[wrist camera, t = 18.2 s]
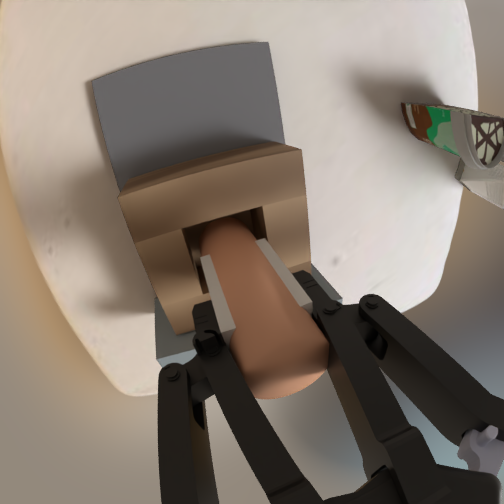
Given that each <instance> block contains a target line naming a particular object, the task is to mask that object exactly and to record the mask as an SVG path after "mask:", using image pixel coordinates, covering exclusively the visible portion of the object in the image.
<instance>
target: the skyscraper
mask: <svg viewBox="0 0 504 504" xmlns="http://www.w3.org/2000/svg"><path fill="white" fill-rule="evenodd" d="M500 161H502V162H504V154H503V156H502V158H501V160H500ZM455 178H456V179H457V180H458V181H459V182H461V183H462V184H463V185H464V186H465V187H466V188H467V189H468V190H469V191H471V192H473V193H475V194H477V195H478V196H480V197H482V198H484V199H486V200H487V201H489V202H491V203H493V204H494V205H497V206H498V207H500V208H502V209H504V166H502V165H500V164H498V165H497V166H495V167H494V168H492V169H486V170H482V169H474V168H471V167H469V166H467V165H466V164H465V163H464V161H463V160H462V158H461V159H460V162H459V165H458V169H457V172H456V175H455Z"/></svg>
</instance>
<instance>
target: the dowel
mask: <svg viewBox="0 0 504 504" xmlns="http://www.w3.org/2000/svg"><path fill="white" fill-rule="evenodd" d="M255 241H257V240H256V238H255V237H254V235H253V234H252V233H251V231H250V230H249V228H248V227H247V226H246V225H245V224H244V223H243V222H242V221H240V220H238V219H235V218H230V217H226V218H220V219H217V220H215V221H213V222H211V223H210V224H208V225H207V226H206V227H205V228H204V230H203V231H202V233H201V235H200V238H199V250H200V254H201V257H203V256H206V255H209V254H210V257H211V260H212V262H213V265H214V268H215V271H216V274H217V277H218V280H219V282H220V285H221V288H222V291H223V294H224V296H225V299H226V302H227V305H228V307H229V310H230V313H231V316H232V318H233V321H234V324H235V326H236V329H235V330H234V332H233V334H232V336H231V339H230V344H229V347H230V352H231V355H232V358H233V360H234V361H235V363H236V365H237V367H238V369H239V371H240V372H241V374H242V376H243V378H244V380H245V381H246V383H247V385H248V387H249V388H250V390H251V392H252V394H253V395H254V397H255V398H258V399H275V398H280V397H284V396H288V395H290V394H293V393H295V392H298V391H300V390H302V389H303V388H305V387H307V386H308V385H310V384H311V383H313V382H314V381H315V380H317V379H318V378H319V377H320V376H321V375H322V374H323V373H324V372H325V370H326V369H327V368H328V357H329V342H328V340H327V339H326V337H325V336H324V334H323V333H322V331H321V330H320V328H319V327H318V326H317V324H316V323H315V321H314V320H313V318H312V317H311V316H310V314H309V313H308V312H307V311H306V310H305V309H304V308H302V307H300V306H299V304H298V303H297V301H296V300H295V299H294V297H293V296H292V294H291V293H290V291H289V290H288V288H287V287H286V285H285V284H284V283H283V281H282V280H281V278H280V277H279V275H278V274H277V272H276V271H275V269H274V268H273V267H272V265H271V264H270V262H269V261H268V259H267V258H266V257H265V255H264V254H263V252H262V251H261V249H260V248H259V246H258V245H257V244H256V242H255Z"/></svg>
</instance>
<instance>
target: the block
mask: <svg viewBox="0 0 504 504" xmlns="http://www.w3.org/2000/svg"><path fill="white" fill-rule="evenodd" d="M118 200H119V203H120V206H121V209H122V212H123V215H124V217H125V220H126V223H127V225H128V228H129V231H130V233H131V236H132V239H133V241H134V244H135V246H136V249H137V251H138V254H139V256H140V258H141V261H142V263H143V265H144V268H145V270H146V272H147V275H148V277H149V279H150V282H151V284H152V286H153V288H154V290H155V293H156V295H157V297H158V299H159V301H160V303H161V305H162V307H163V310H164V312H165V314H166V316H167V318H168V320H169V322H170V324H171V326H172V328H173V330H174V332H175V333H176V335H179V334H182V333H186V332H189V331H193V330H195V326H194V321H193V316H192V310H193V307H194V305H195V304H198V303H202V302H205V301H208V300H211V297H210V293H209V289H208V286H207V282H206V278H205V274H204V271H203V267H202V263H201V259H200V257H201V254H200V250H199V238H200V235H201V233H202V231H203V230H204V228H205V227H206V226H207V225H208V224H210V223H211V222H213V221H215V220H217V219H220V218H226V217H230V218H235V219H238V220H240V221H242V222H243V223H244V224H245V225H246V226H247V227H248V228H249V230H250V231H251V233H252V234H253V235H254V237H255V238H256V240H260V239H264V238H265V239H266V241H267V242H268V243H269V244H270V246H271V247H272V248H273V250H274V251H275V252H276V254H277V255H278V256H279V258H280V259H281V260H282V262H283V263H284V264H285V266H286V267H287V268H288V270H289V271H290V272H291V274H292V273H295V272H298V271H301V270H304V271H306V272H308V273H310V274H311V275H312V272H311V253H310V236H309V222H308V209H307V198H306V187H305V177H304V167H303V158H302V150H301V149H298V148H295V147H292V146H288V145H285V144H282V143H278V142H275V141H273V142H268V143H263V144H257V145H252V146H248V147H243V148H238V149H234V150H229V151H225V152H221V153H217V154H213V155H209V156H205V157H201V158H197V159H193V160H189V161H186V162H182V163H179V164H175V165H172V166H168V167H165V168H162V169H158V170H155V171H152V172H149V173H146V174H143V175H140V176H137V177H134V178H131V179H128V181H127V182H126V184H125V186H124V187H123V189H122V191H121V193H120V194H119V196H118Z"/></svg>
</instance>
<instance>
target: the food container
mask: <svg viewBox="0 0 504 504" xmlns="http://www.w3.org/2000/svg"><path fill="white" fill-rule="evenodd" d="M401 106H402V113H403V116H404V119H405V122H406V125H407V126H408V128H409V130H410V131H411V133H412V134H413V135H414V136H415V137H416V138H417V139H418V140H421V141H424V142H426V143H429V144H432V145H434V146H437V147H439V148H442V149H444V150H446V151H449V152H451V153H453V154H456V155H458V156H460V157H461V158H462V160H463V161H464V163H465V164H466V165H467V166H469V167H471V168H474V169H482V170H486V169H492V168H494V167H495V166H497V165H498V163H499V162H500V160H501V158H502V156H503V154H504V118H502V117H499V116H494V115H490V114H487V113H483V112H478V111H474V110H469V109H465V108H459V107H454V106H448V105H440V104H426V103H401Z"/></svg>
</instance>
